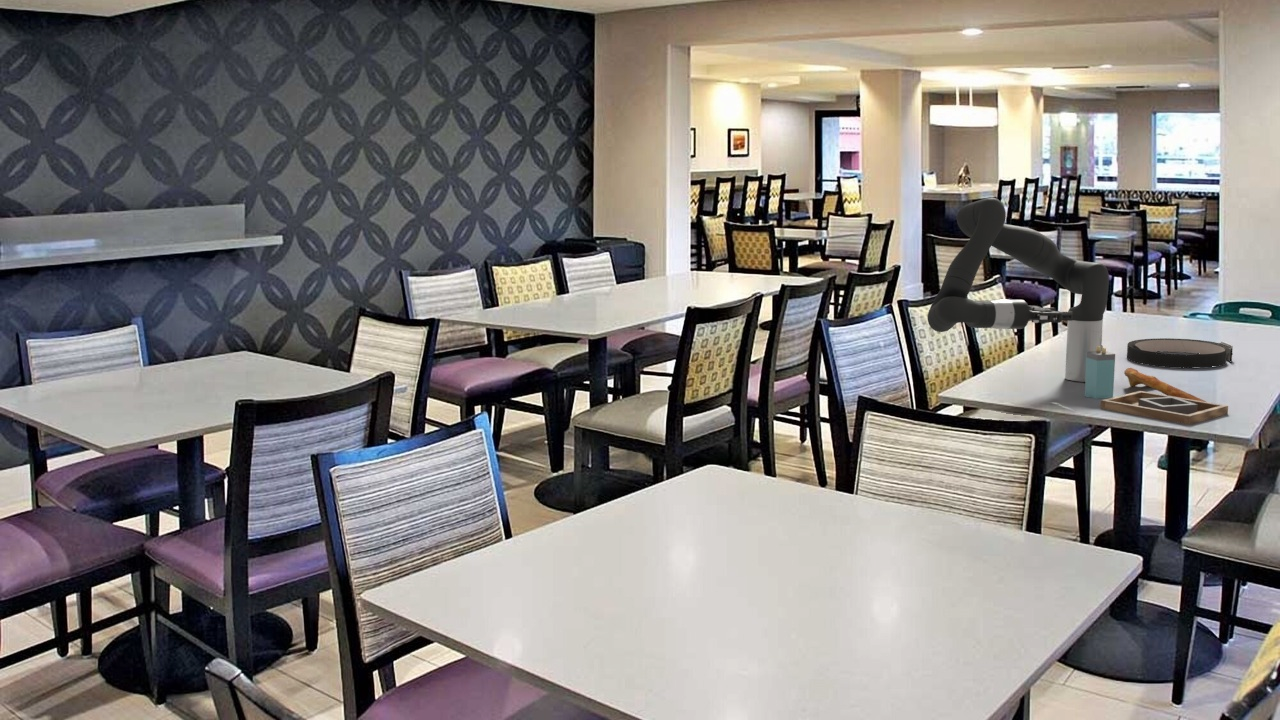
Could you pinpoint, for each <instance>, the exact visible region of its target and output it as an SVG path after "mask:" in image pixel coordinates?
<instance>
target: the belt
mask: <svg viewBox="0 0 1280 720" xmlns="http://www.w3.org/2000/svg"><path fill="white" fill-rule="evenodd" d="M1126 345H1127V348H1126V349H1127V350H1126V358H1127V359H1128V360H1129V359H1130V360H1129V361H1131V360H1132V361H1131V362H1133V361H1135V362H1134V363H1137V362H1138V364H1140V363H1143V364H1142V365H1145V364H1149V365H1148V366H1151V365H1155V366H1154V367H1159V366H1165V367H1164V368H1170V367H1181V368H1180V369H1193V368H1192V367H1212V366H1219V365H1223V364H1225V363H1226V362H1227V361H1228V360H1229V361H1232V360H1233V355H1234V353H1233V349H1234V348H1233V346H1234V345H1232V344H1230V343H1229V342H1225V341H1220V342H1215V341H1209V340H1202V339H1200V340H1199V339H1189V338H1161V337H1160V338H1145V339H1136V340H1131V341H1129V342H1128V343H1127V344H1126ZM1157 351H1168V352H1157ZM1180 352H1186V353H1180ZM1192 353H1200V354H1192ZM1227 359H1228V360H1227ZM1229 361H1228V362H1229ZM1225 365H1226V364H1225ZM1223 366H1224V365H1223ZM1183 367H1184V368H1183ZM1219 367H1220V366H1219ZM1212 368H1213V367H1212Z"/></svg>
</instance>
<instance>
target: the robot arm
mask: <svg viewBox="0 0 1280 720" xmlns="http://www.w3.org/2000/svg"><path fill="white" fill-rule="evenodd" d="M1006 213H1007V212H1006V209H1005V206H1004V204H1003V202H1001V201H1000V200H999V199H998V198H995V197H987V198H986V197H985V198H982V199H979V200H976V201H973V202H970V203H968V204H966V205H963V206H962V207H961V208H959V210H958V212H957V214H956V223H957V225H958V228H959V229H960V231H961V232H962V233H963V234H964V235H965V236H967V237H968V238H969V240H968V241H967V242H966V244H965V245H964V246H963V247H962V249H961V250H960V251H959V252H958V253H957V254H956V255H955V256H954V259H953V260H952V262H951V263H950V265H949V267H948V268H947V271H946V273H945V275H944V279H943V282H942V283H941V287H940V290H939V291H938V293H937V294H936V296H935V298H934V299H933V302H932V304H931V306H930V307H929V310H928V312H927V323H928V325H929V327H930V328H931V330H933V331H935V332H938V333H943V332H944V333H945V332H947V331H949V330H951V329H952V328H953V327H954V326H955V325H957V324H958V323H965V324H966V325H967V327H969V328H972V329H973V328H974V329H995V330H1021V329H1025V328H1026V327H1027V326H1028V324H1029V322H1031V323H1033V324H1034V323H1035V324H1038V323H1040V324H1042V323H1047V324H1049V323H1058V324H1060V323H1062V322H1064V321H1065V322H1066V321H1067V326H1066V329H1067V330H1066V349H1065V350H1066V351H1065V352H1066V353H1065V370H1064V377H1065V379H1066V380H1068V381H1073V382H1081V383H1083V382H1085V381H1086V361H1087V352H1093V351H1096V350H1097V346H1101V351H1102V348H1104V346H1103V345H1102V344H1103V326H1104V325H1103V324H1104V323H1103V322H1104V314H1105V312H1106V308H1107V305H1108V295H1109V285H1110V275H1109V274H1110V273H1109V271H1108V268H1107V266H1106V265H1104V264H1103V263H1099V262H1091V261H1082V260H1077V259H1073V258H1071V257H1069V256H1066V255H1064V254H1063V253H1061V252H1060V250H1059V248H1058V245H1057V244H1056V243H1055V242H1054V241H1053V240H1052V239H1051V238H1049V237H1047V235H1045V234H1043V233H1041V232H1040V231H1037V230H1035V229H1032V228H1030V227H1029V228H1028V227H1025V226H1024V227H1023V226H1019V225H1012V224H1007V223H1005V222H1006V217H1007V214H1006ZM990 248H995V249H997V250H999V251H1000V252H1002V253H1004V254H1005V255H1008V256H1010V257H1012V258H1013V259H1015V260H1016V261H1018V262H1019V263H1022V264H1024V265H1025V266H1027V267H1029V268H1031V269H1033V270H1035V271H1037V272H1039V273H1041V274H1043V275H1045V276H1048V277H1049V278H1050V279H1052V280H1054V281H1055V283H1058V284H1059V285H1060V286H1061V287H1063V288H1064V289H1066V291H1068V292H1070V293H1073V294H1075V295H1081V297H1080V303H1078V305H1075V306H1073V307H1070V308H1069V309H1068V311H1061V310H1057V308H1056V307H1041V306H1039V305H1028V302H1026V301H1025V300H1024V299H1020V298H1019V299H1011V298H1009V299H1008V298H1007V299H992V300H991V299H990V300H989V299H988V300H973V299H972V298H971V299H970V298H967V297H968V295H969V294H970V291H971V290H972V286H973V284H974V281H975V279H976V276H977V273H978V270H979V269H980V266H981V265H982V264H983V263H982V262H983V261H984V259H985V258H986V255H987V254H988V252H989V251H990ZM1054 317H1055V318H1054Z"/></svg>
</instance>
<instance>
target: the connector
mask: <svg viewBox="0 0 1280 720" xmlns="http://www.w3.org/2000/svg"><path fill="white" fill-rule="evenodd" d="M1115 365H1116V353H1112V352H1109V351H1107V347H1103V348H1102V351H1101V346H1097V350H1096V351H1093V352H1087V361H1086V381H1085V383H1084V384H1085V385H1084V386H1085V388H1084V397H1085V396H1087V397H1086V398H1092V399H1095V400H1096V399H1108V398H1113V397H1114V388H1115V387H1114V386H1115V384H1114V383H1115V371H1116V370H1115V367H1116V366H1115Z"/></svg>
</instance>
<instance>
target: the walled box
mask: <svg viewBox="0 0 1280 720" xmlns="http://www.w3.org/2000/svg"><path fill="white" fill-rule="evenodd" d="M1158 397H1173V396H1167V395H1165V394H1162V393H1161V394H1160V393H1155V392H1148V391H1143V390H1137V391H1134V392H1129V393H1127V394H1126V393H1125V394H1122V395H1117V396H1113V398H1103V399H1101V400H1100V409H1102V410H1107V411H1114V412H1118V413H1123V414H1130V415H1135V416H1139V417H1140V416H1141V417H1146V418H1150V419H1156V420H1162V421H1166V422H1173V423H1178V424H1183V425H1188V426H1190V425H1193V424H1197V423H1201V422H1204V421H1207V420H1211V419H1215V418H1218V417H1223V416H1225V415H1228V414H1229V413H1228V412H1229V405H1226V404H1221V403H1216V402H1215V403H1213V402H1208V401H1206V402H1203V401H1197V400H1191V399H1185V398H1179V397H1176V398H1179V399H1182V400H1185V401H1188V402H1192V403H1195V404H1198V409H1197V412H1195V413H1192V414H1188V415H1187V414H1181V413H1176V412H1170V411H1164V410H1159V409H1153V408H1148V407H1142V406H1138V402H1139V399H1142V398H1158Z"/></svg>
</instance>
